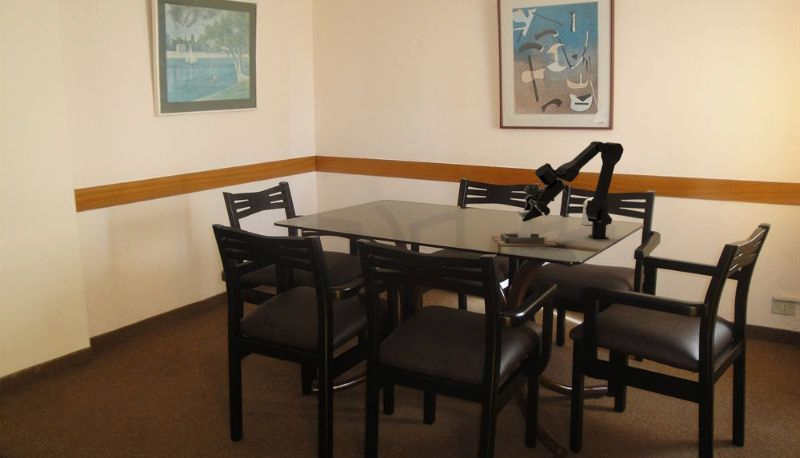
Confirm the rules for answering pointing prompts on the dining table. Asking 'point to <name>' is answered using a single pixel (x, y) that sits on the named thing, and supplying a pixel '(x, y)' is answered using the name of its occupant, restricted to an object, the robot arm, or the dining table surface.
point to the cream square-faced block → (524, 225)
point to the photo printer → (585, 218)
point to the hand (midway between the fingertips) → (521, 219)
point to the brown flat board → (523, 240)
